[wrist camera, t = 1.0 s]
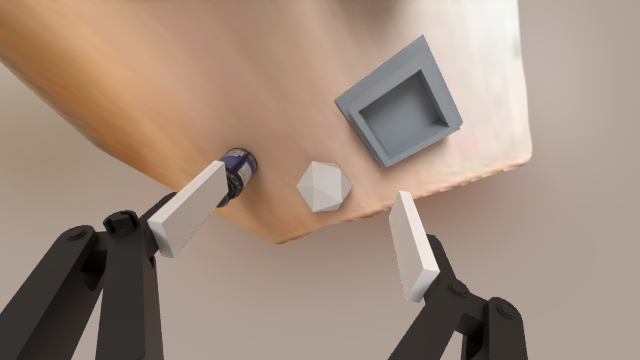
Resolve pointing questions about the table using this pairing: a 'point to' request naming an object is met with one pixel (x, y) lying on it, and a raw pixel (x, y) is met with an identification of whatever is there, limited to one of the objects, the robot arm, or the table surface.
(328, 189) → the die
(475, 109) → the table surface
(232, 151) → the pill bottle
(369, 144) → the well
